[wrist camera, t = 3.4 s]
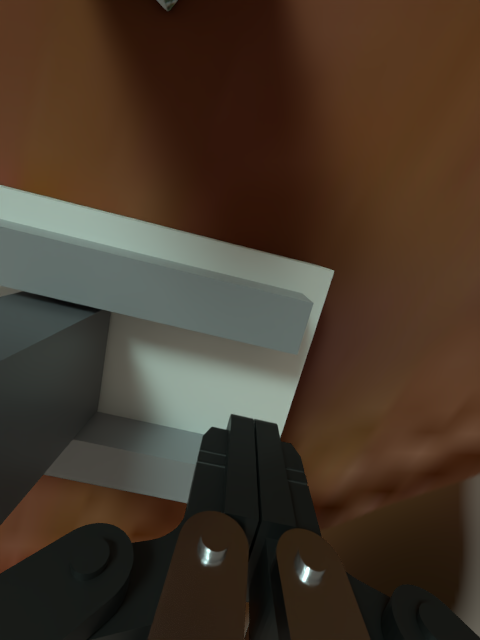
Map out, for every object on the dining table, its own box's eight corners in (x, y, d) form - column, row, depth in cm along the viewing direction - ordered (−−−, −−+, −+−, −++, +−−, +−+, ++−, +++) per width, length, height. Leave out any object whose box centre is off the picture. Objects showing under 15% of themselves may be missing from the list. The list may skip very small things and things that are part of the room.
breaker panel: (-85, 387, 17) (-216, 447, 12) (-95, 160, 14) (-276, 118, 9) (256, 459, 18) (261, 540, 13) (316, 264, 15) (352, 276, 10)
